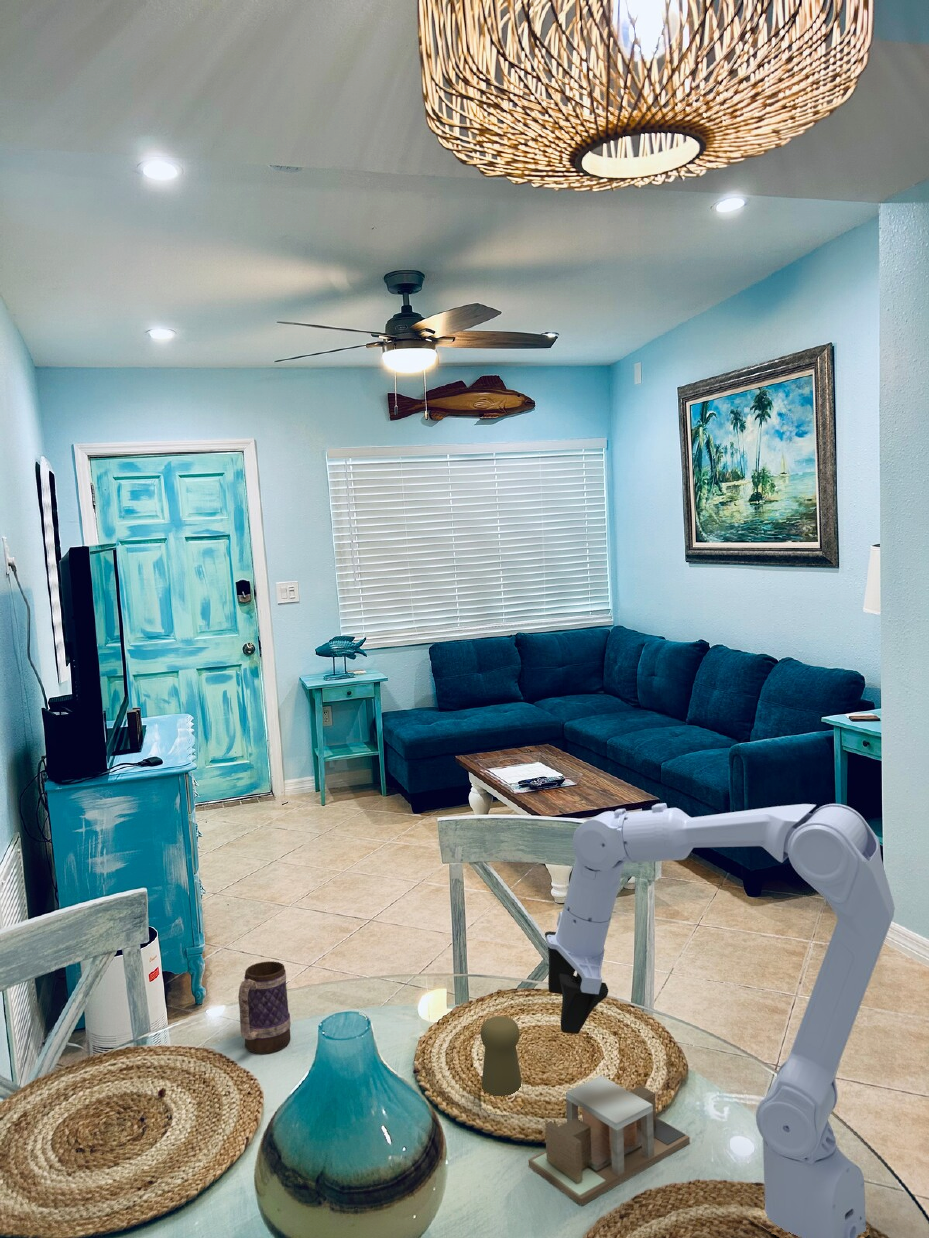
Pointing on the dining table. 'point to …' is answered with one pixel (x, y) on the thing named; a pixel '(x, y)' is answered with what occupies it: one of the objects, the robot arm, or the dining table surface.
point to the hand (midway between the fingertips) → (562, 1010)
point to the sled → (590, 1140)
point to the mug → (264, 1008)
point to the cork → (500, 1056)
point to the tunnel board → (612, 1139)
